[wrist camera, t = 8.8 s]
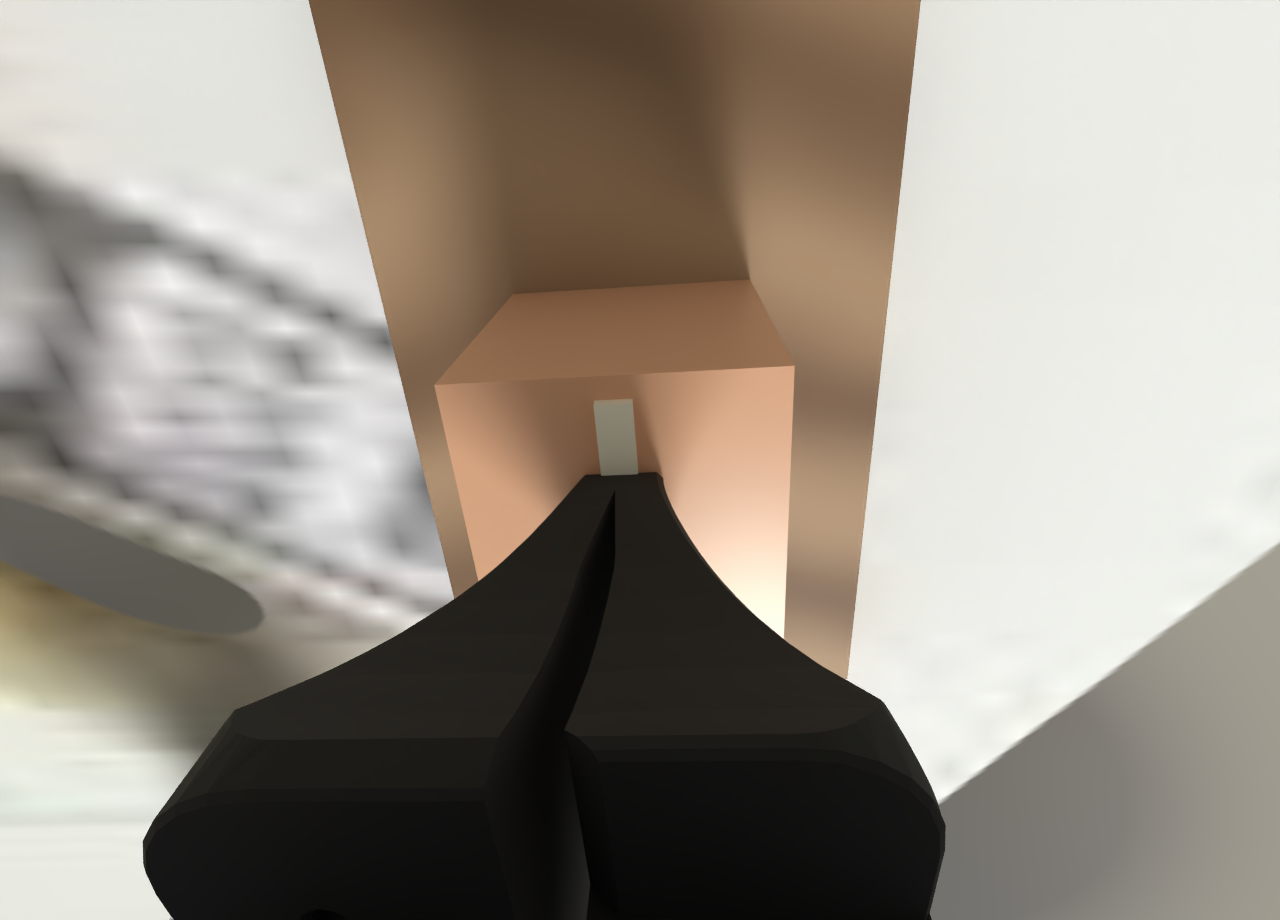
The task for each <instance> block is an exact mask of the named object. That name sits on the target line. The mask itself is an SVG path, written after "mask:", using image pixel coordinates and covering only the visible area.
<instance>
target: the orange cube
mask: <svg viewBox="0 0 1280 920" xmlns="http://www.w3.org/2000/svg"><path fill="white" fill-rule="evenodd" d="M794 371H795V365H794V363H793V362H792V360H791V358H790V356H789V354H788V352H787V350H786V348H785V346H784V344H783V342H782V340H781V338H780V336H779V334H778V332H777V330H776V328H775V327H774V325H773V323H772V321H771V319H770V317H769V315H768V313H767V311H766V309H765V307H764V305H763V303H762V301H761V299H760V297H759V295H758V294H757V292H756V290H755V288H754V286H753V284H752V282H751V280H734V281H717V282H701V283H685V284H669V285H652V286H636V287H620V288H603V289H587V290H571V291H555V292H538V293H522V294H512V296H511V297H510V298H509V299H508V300H507V301H506V302H505V304H504V305H503V306H502V307H501V308H500V309H499V311H498V312H497V313H496V314H495V315H494V316H493V318H492V319H491V320H490V321H489V322H488V323H487V324H486V326H485V327H484V328H483V329H482V330H481V331H480V333H479V334H478V335H477V336H476V337H475V338H474V339H473V341H472V342H471V343H470V344H469V345H468V346H467V348H466V349H465V350H464V351H463V352H462V353H461V355H460V356H459V357H458V358H457V359H456V360H455V361H454V363H453V364H452V365H451V366H450V367H449V368H448V370H447V371H446V372H445V373H444V374H443V375H442V376H441V378H440V379H439V380H438V381H437V382H436V383H435V385H434V387H435V391H436V395H437V400H438V404H439V409H440V413H441V418H442V422H443V427H444V431H445V435H446V440H447V444H448V449H449V453H450V458H451V462H452V466H453V471H454V475H455V480H456V484H457V489H458V493H459V498H460V502H461V506H462V511H463V515H464V520H465V524H466V529H467V533H468V538H469V542H470V546H471V551H472V555H473V560H474V564H475V569H476V573H477V577H478V581H479V580H481V579H482V578H483V577H484V576H486V575H487V574H488V573H489V572H491V571H492V570H493V569H494V568H495V567H497V566H498V565H499V564H500V563H501V562H502V561H504V560H505V559H506V558H507V557H508V556H509V555H510V554H511V553H512V552H513V551H514V550H515V549H516V548H517V547H518V546H520V545H521V544H522V543H523V542H524V541H525V540H526V539H527V538H528V537H529V536H530V535H531V534H532V533H533V532H534V531H535V530H536V529H537V527H538V526H539V525H540V524H541V523H542V522H543V521H544V520H545V519H546V518H547V517H548V516H549V515H550V514H551V513H552V511H553V510H554V509H555V508H556V507H557V506H558V505H559V503H560V502H561V501H562V500H563V499H564V498H565V497H566V495H567V494H568V493H569V492H570V491H571V490H572V489H573V487H574V486H575V485H576V484H577V483H578V482H579V481H580V480H581V479H582V478H583V477H584V476H585V475H592V474H601V476H607V475H633V474H638V473H645V472H657V473H658V474H659V475H660V476H662V477H663V480H664V487H665V490H666V493H667V496H668V498H669V501H670V503H671V505H672V507H673V509H674V511H675V513H676V515H677V517H678V519H679V521H680V522H681V524H682V526H683V527H684V529H685V531H686V532H687V534H688V536H689V537H690V539H691V540H692V542H693V543H694V545H695V546H696V548H697V549H698V551H699V552H700V553H701V555H702V556H703V558H704V559H705V560H706V562H707V563H708V564H709V566H710V567H711V568H712V569H713V571H714V572H715V573H716V574H717V575H718V577H719V578H720V579H721V580H722V581H723V583H724V584H725V585H726V586H727V587H728V588H729V589H730V590H731V591H732V592H733V593H734V595H735V596H736V597H737V598H738V599H739V600H740V601H741V602H742V603H743V604H744V605H745V606H746V607H747V608H748V609H749V610H750V611H752V612H753V613H754V614H755V615H756V616H757V617H758V618H759V619H760V620H762V621H763V622H764V623H765V624H766V625H768V626H769V627H770V628H771V629H772V630H774V631H775V632H776V633H777V634H778V635H780V636H781V637H782V638H783V639H784V619H785V594H786V570H787V545H788V520H789V495H790V470H791V445H792V421H793V396H794Z"/></svg>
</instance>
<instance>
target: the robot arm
mask: <svg viewBox="0 0 1280 920" xmlns="http://www.w3.org/2000/svg"><path fill="white" fill-rule="evenodd" d="M944 851H945V823H944V821H943V818H942V816H941V813H940V809H939V806H938V802H937V800H936V797H935V795H934V792H933V790H932V787H931V785H930V783H929V781H928V779H927V777H926V775H925V773H924V771H923V769H922V767H921V765H920V763H919V761H918V760H917V758H916V756H915V754H914V752H913V751H912V749H911V747H910V745H909V743H908V741H907V740H906V738H905V736H904V734H903V733H902V731H901V730H900V728H899V726H898V725H897V723H896V721H895V720H894V718H893V716H892V715H891V713H890V711H889V710H888V708H887V707H886V705H885V704H884V703H883V702H882V701H881V700H880V699H878V698H877V697H875V696H873V695H872V694H870V693H868V692H866V691H865V690H863V689H861V688H859V687H858V686H856V685H854V684H852V683H851V682H849V681H847V680H845V679H844V678H842V677H840V676H839V675H837V674H835V673H833V672H832V671H830V670H828V669H826V668H825V667H823V666H821V665H820V664H818V663H817V662H815V661H814V660H812V659H811V658H809V657H808V656H807V655H805V654H804V653H802V652H801V651H799V650H798V649H797V648H795V647H794V646H792V645H791V644H789V643H788V642H787V641H786V640H784V639H783V638H782V637H781V636H780V635H778V634H777V633H776V632H775V631H774V630H772V629H771V628H770V627H769V626H768V625H766V624H765V623H764V622H763V621H762V620H760V619H759V618H758V617H757V616H756V615H755V614H754V613H753V612H752V611H750V610H749V609H748V608H747V607H746V606H745V605H744V604H743V603H742V602H741V601H740V600H739V599H738V598H737V597H736V596H735V595H734V593H733V592H732V591H731V590H730V589H729V588H728V587H727V586H726V585H725V584H724V583H723V581H722V580H721V579H720V578H719V577H718V575H717V574H716V573H715V572H714V571H713V569H712V568H711V567H710V566H709V564H708V563H707V562H706V560H705V559H704V558H703V556H702V555H701V553H700V552H699V551H698V549H697V548H696V546H695V545H694V543H693V542H692V540H691V539H690V537H689V536H688V534H687V532H686V531H685V529H684V527H683V526H682V524H681V522H680V521H679V519H678V517H677V515H676V513H675V511H674V509H673V507H672V505H671V503H670V501H669V498H668V496H667V493H666V490H665V487H664V480H663V477H662V476H660V475H659V474H658V473H657V472H645V473H638V474H633V475H607V476H601V474H592V475H585V476H584V477H583V478H582V479H581V480H580V481H579V482H578V483H577V484H576V485H575V486H574V487H573V489H572V490H571V491H570V492H569V493H568V494H567V495H566V497H565V498H564V499H563V500H562V501H561V502H560V503H559V505H558V506H557V507H556V508H555V509H554V510H553V511H552V513H551V514H550V515H549V516H548V517H547V518H546V519H545V520H544V521H543V522H542V523H541V524H540V525H539V526H538V527H537V529H536V530H535V531H534V532H533V533H532V534H531V535H530V536H529V537H528V538H527V539H526V540H525V541H524V542H523V543H522V544H521V545H520V546H518V547H517V548H516V549H515V550H514V551H513V552H512V553H511V554H510V555H509V556H508V557H507V558H506V559H505V560H504V561H502V562H501V563H500V564H499V565H498V566H497V567H495V568H494V569H493V570H492V571H491V572H489V573H488V574H487V575H486V576H484V577H483V578H482V579H481V580H479V581H478V582H477V583H475V584H474V585H473V586H471V587H470V588H469V589H467V590H466V591H465V592H463V593H462V594H461V595H459V596H458V597H457V598H455V599H454V600H452V601H451V602H449V603H448V604H446V605H445V606H443V607H442V608H440V609H438V610H437V611H435V612H434V613H432V614H430V615H429V616H427V617H426V618H424V619H423V620H421V621H419V622H418V623H416V624H415V625H413V626H411V627H410V628H408V629H407V630H405V631H404V632H402V633H400V634H398V635H397V636H395V637H393V638H391V639H389V640H388V641H386V642H384V643H382V644H380V645H378V646H377V647H375V648H373V649H371V650H369V651H367V652H365V653H363V654H361V655H359V656H357V657H355V658H353V659H351V660H349V661H347V662H345V663H343V664H341V665H339V666H337V667H335V668H333V669H331V670H329V671H327V672H324V673H322V674H320V675H318V676H316V677H313V678H311V679H309V680H306V681H304V682H302V683H299V684H297V685H295V686H292V687H290V688H287V689H285V690H283V691H280V692H278V693H276V694H273V695H271V696H268V697H266V698H264V699H261V700H259V701H257V702H254V703H252V704H249V705H247V706H244V707H241V708H239V709H236V710H235V711H234V712H233V713H232V714H231V716H230V717H229V718H228V719H227V721H226V722H225V723H224V725H223V726H222V727H221V729H220V730H219V731H218V733H217V734H216V736H215V737H214V738H213V740H212V741H211V742H210V744H209V745H208V746H207V748H206V749H205V751H204V752H203V753H202V755H201V756H200V757H199V759H198V760H197V762H196V763H195V764H194V766H193V767H192V768H191V770H190V771H189V772H188V774H187V775H186V777H185V778H184V779H183V781H182V782H181V783H180V785H179V786H178V788H177V789H176V790H175V792H174V793H173V794H172V796H171V797H170V798H169V800H168V801H167V803H166V804H165V805H164V807H163V808H162V809H161V811H160V812H159V814H158V815H157V816H156V818H155V819H154V820H153V822H152V824H151V826H150V828H149V830H148V832H147V834H146V836H145V838H144V840H143V864H144V868H145V871H146V874H147V876H148V878H149V880H150V882H151V885H152V887H153V889H154V891H155V893H156V895H157V896H158V898H159V899H160V901H161V902H162V904H163V905H164V907H165V908H166V909H167V911H168V912H169V914H170V915H171V918H170V920H932V919H931V916H930V909H931V905H932V901H933V897H934V893H935V889H936V884H937V880H938V876H939V872H940V868H941V863H942V859H943V856H944Z"/></svg>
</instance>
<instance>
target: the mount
mask: <svg viewBox="0 0 1280 920" xmlns="http://www.w3.org/2000/svg"><path fill="white" fill-rule="evenodd" d="M920 2H921V0H309V4H310V8H311V12H312V16H313V20H314V24H315V28H316V33H317V37H318V41H319V45H320V49H321V53H322V57H323V61H324V65H325V69H326V74H327V78H328V82H329V86H330V90H331V94H332V98H333V102H334V106H335V111H336V115H337V119H338V123H339V127H340V131H341V135H342V139H343V143H344V147H345V152H346V156H347V160H348V164H349V168H350V172H351V176H352V180H353V184H354V188H355V193H356V197H357V201H358V205H359V209H360V213H361V217H362V221H363V225H364V229H365V234H366V238H367V242H368V246H369V250H370V254H371V258H372V262H373V266H374V271H375V275H376V279H377V283H378V287H379V291H380V295H381V299H382V303H383V307H384V312H385V316H386V320H387V324H388V328H389V332H390V336H391V340H392V344H393V348H394V353H395V357H396V361H397V365H398V369H399V373H400V377H401V381H402V385H403V389H404V394H405V398H406V402H407V406H408V410H409V414H410V418H411V422H412V426H413V430H414V435H415V439H416V443H417V447H418V451H419V455H420V459H421V463H422V467H423V472H424V476H425V480H426V484H427V488H428V492H429V496H430V500H431V504H432V508H433V513H434V517H435V521H436V525H437V529H438V533H439V537H440V541H441V545H442V549H443V554H444V558H445V562H446V566H447V570H448V574H449V578H450V582H451V586H452V590H453V595H454V599H455V598H457V597H458V596H459V595H461V594H462V593H463V592H465V591H466V590H467V589H469V588H470V587H471V586H473V585H474V584H475V583H477V582H478V577H477V573H476V569H475V564H474V560H473V555H472V551H471V546H470V542H469V538H468V533H467V529H466V524H465V520H464V515H463V511H462V506H461V502H460V498H459V493H458V489H457V484H456V480H455V475H454V471H453V466H452V462H451V458H450V453H449V449H448V444H447V440H446V435H445V431H444V427H443V422H442V418H441V413H440V409H439V404H438V400H437V395H436V391H435V387H434V385H435V383H436V382H437V381H438V380H439V379H440V378H441V376H442V375H443V374H444V373H445V372H446V371H447V370H448V368H449V367H450V366H451V365H452V364H453V363H454V361H455V360H456V359H457V358H458V357H459V356H460V355H461V353H462V352H463V351H464V350H465V349H466V348H467V346H468V345H469V344H470V343H471V342H472V341H473V339H474V338H475V337H476V336H477V335H478V334H479V333H480V331H481V330H482V329H483V328H484V327H485V326H486V324H487V323H488V322H489V321H490V320H491V319H492V318H493V316H494V315H495V314H496V313H497V312H498V311H499V309H500V308H501V307H502V306H503V305H504V304H505V302H506V301H507V300H508V299H509V298H510V297H511V296H512V294H522V293H538V292H555V291H571V290H587V289H603V288H620V287H636V286H652V285H669V284H685V283H701V282H717V281H734V280H751V282H752V284H753V286H754V288H755V290H756V292H757V294H758V295H759V297H760V299H761V301H762V303H763V305H764V307H765V309H766V311H767V313H768V315H769V317H770V319H771V321H772V323H773V325H774V327H775V328H776V330H777V332H778V334H779V336H780V338H781V340H782V342H783V344H784V346H785V348H786V350H787V352H788V354H789V356H790V358H791V360H792V362H793V363H794V365H795V371H794V396H793V421H792V445H791V470H790V495H789V520H788V545H787V570H786V594H785V619H784V640H786V641H787V642H788V643H789V644H791V645H792V646H794V647H795V648H797V649H798V650H799V651H801V652H802V653H804V654H805V655H807V656H808V657H809V658H811V659H812V660H814V661H815V662H817V663H818V664H820V665H821V666H823V667H825V668H826V669H828V670H830V671H832V672H833V673H835V674H837V675H839V676H840V677H842V678H844V679H847V675H848V666H849V657H850V647H851V638H852V629H853V620H854V611H855V601H856V592H857V583H858V574H859V564H860V555H861V546H862V537H863V528H864V518H865V509H866V500H867V491H868V481H869V472H870V463H871V454H872V445H873V435H874V426H875V417H876V408H877V398H878V389H879V380H880V371H881V362H882V352H883V343H884V334H885V325H886V315H887V306H888V297H889V288H890V279H891V269H892V260H893V251H894V242H895V232H896V223H897V214H898V205H899V196H900V186H901V177H902V168H903V159H904V149H905V140H906V131H907V122H908V113H909V103H910V94H911V85H912V76H913V66H914V57H915V48H916V39H917V30H918V20H919V11H920Z"/></svg>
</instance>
